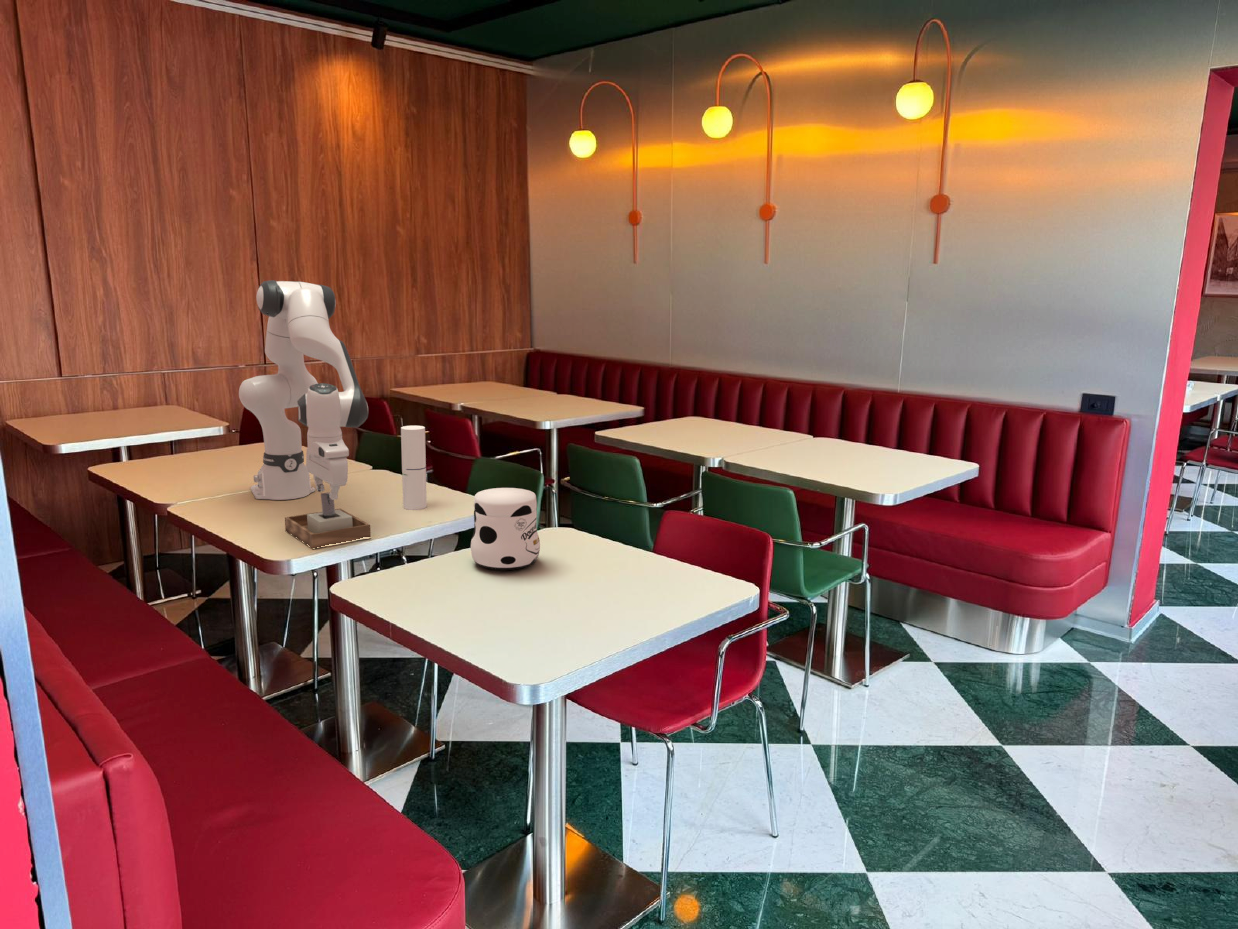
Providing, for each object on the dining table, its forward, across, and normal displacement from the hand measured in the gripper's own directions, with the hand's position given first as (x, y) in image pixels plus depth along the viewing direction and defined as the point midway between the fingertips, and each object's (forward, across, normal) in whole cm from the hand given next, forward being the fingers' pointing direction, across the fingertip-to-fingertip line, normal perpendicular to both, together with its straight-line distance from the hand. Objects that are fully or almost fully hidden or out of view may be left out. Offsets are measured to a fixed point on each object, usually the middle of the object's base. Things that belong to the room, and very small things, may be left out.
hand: (326, 495), depth 235 cm
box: (+12, -1, 0) cm, 12 cm away
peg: (+11, +1, 0) cm, 11 cm away
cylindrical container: (+12, -14, +33) cm, 38 cm away
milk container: (+11, +47, +27) cm, 56 cm away
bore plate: (+12, +1, 0) cm, 12 cm away
